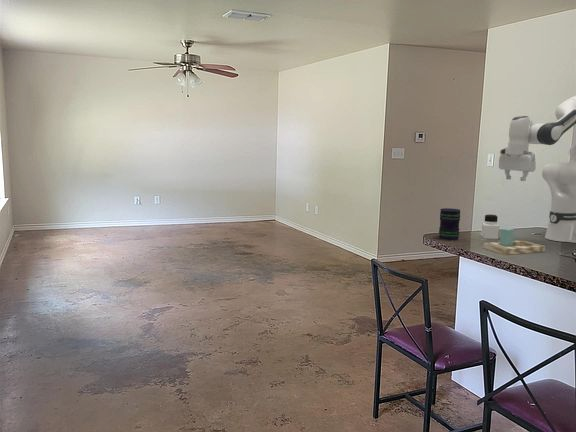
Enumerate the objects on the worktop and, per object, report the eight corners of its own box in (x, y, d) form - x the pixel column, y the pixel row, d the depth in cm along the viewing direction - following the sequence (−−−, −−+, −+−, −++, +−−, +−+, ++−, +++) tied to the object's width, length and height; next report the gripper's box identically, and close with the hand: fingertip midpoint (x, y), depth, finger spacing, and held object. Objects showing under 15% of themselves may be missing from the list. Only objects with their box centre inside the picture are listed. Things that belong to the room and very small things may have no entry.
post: (505, 249, 229) (507, 228, 228) (512, 251, 225) (514, 229, 224) (499, 250, 228) (500, 228, 226) (505, 251, 224) (507, 230, 222)
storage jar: (447, 241, 247) (448, 211, 244) (434, 237, 256) (436, 208, 253) (463, 239, 250) (464, 210, 248) (450, 236, 259) (451, 207, 257)
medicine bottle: (498, 239, 252) (500, 216, 250) (483, 238, 253) (485, 215, 251) (495, 236, 259) (497, 214, 257) (481, 236, 260) (482, 213, 258)
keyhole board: (521, 245, 238) (522, 240, 237) (544, 251, 225) (545, 246, 224) (483, 248, 231) (484, 242, 231) (505, 254, 218) (505, 249, 218)
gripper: (540, 151, 225) (537, 181, 227) (507, 150, 244) (505, 178, 246) (529, 151, 223) (526, 182, 225) (497, 150, 242) (495, 178, 244)
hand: (515, 180), depth 236 cm, fingers open, 8 cm apart
